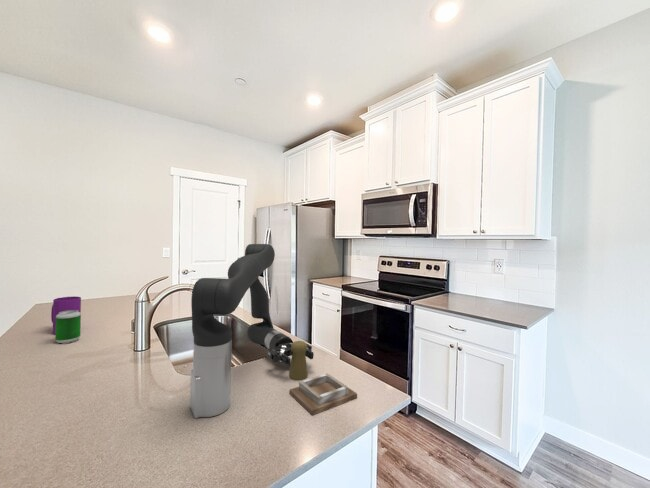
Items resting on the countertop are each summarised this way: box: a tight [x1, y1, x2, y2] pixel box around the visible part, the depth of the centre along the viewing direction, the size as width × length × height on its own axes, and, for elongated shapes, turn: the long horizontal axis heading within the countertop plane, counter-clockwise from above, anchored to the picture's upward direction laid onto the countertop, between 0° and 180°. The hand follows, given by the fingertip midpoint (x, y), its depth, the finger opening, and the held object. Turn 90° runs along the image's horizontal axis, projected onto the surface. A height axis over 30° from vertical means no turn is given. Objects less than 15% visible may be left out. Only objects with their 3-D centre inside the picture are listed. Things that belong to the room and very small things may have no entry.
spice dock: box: [288, 373, 358, 416], centre depth 81 cm, size 15×12×3 cm
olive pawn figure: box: [288, 340, 309, 382], centre depth 92 cm, size 6×6×11 cm
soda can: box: [55, 310, 82, 344], centre depth 116 cm, size 8×8×12 cm
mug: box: [50, 296, 82, 335], centre depth 128 cm, size 9×16×15 cm, turn 68°
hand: (301, 359), depth 91 cm, fingers open, 8 cm apart
